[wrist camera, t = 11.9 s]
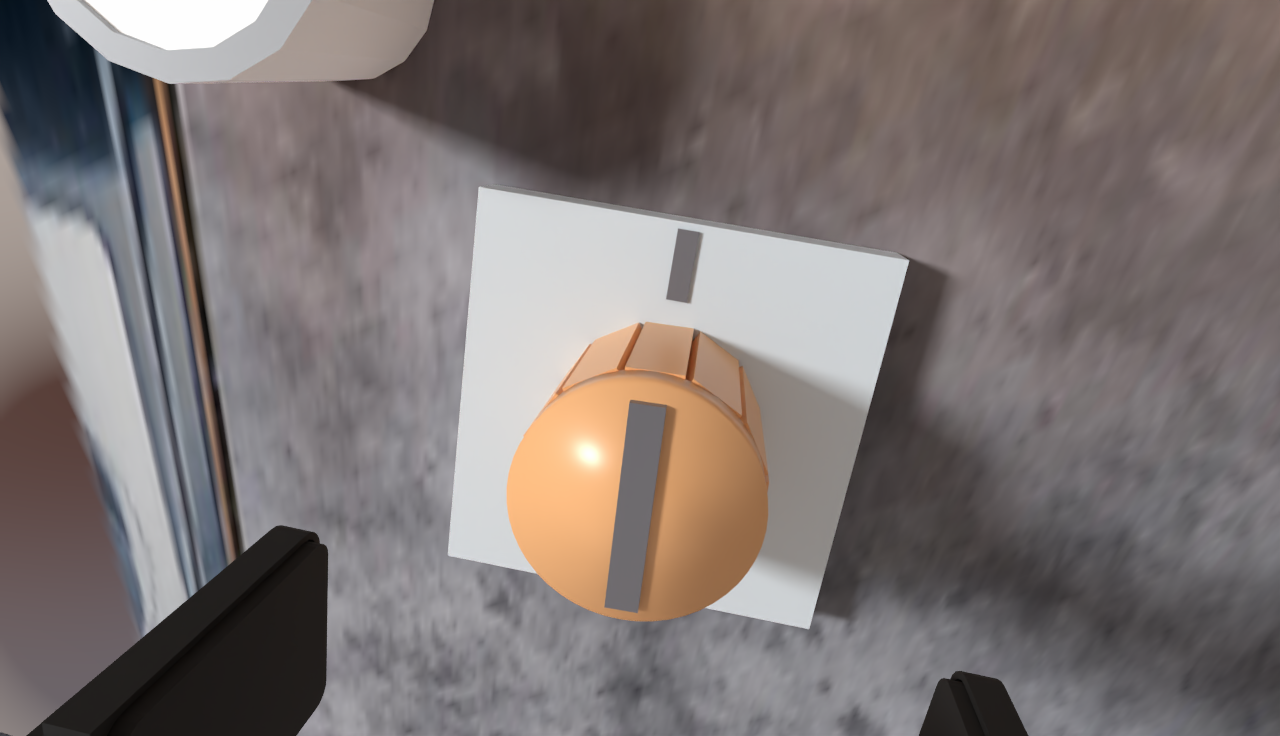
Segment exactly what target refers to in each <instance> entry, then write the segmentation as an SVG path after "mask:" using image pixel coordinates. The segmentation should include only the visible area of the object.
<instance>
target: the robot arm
mask: <svg viewBox="0 0 1280 736" xmlns="http://www.w3.org/2000/svg"><path fill="white" fill-rule="evenodd" d="M327 590H328V549H327V547H326V546H325V545H324V544H320V542H319V537H318V535H317V534H316V533H314V532H310V531H305V530H301V529H296V528H291V527H287V526H282V525H281V526H276V527H274V528H273V529H271V530H270V531H269V532H268V533H267V534H265V535H264V536H263V537H262V538H261V539H259V540H258V541H257V542H256V543H255V544H253V545H252V546H251V547H250V548H249V549H248V550H246V551H245V552H244V553H243V554H242V555H240V556H239V557H238V558H237V559H236V560H234V561H233V562H232V563H231V564H230V565H228V566H227V567H226V568H225V569H224V570H223V571H221V572H220V573H219V574H218V575H217V576H215V577H214V578H213V579H212V580H211V581H209V582H208V583H207V584H206V585H205V586H204V587H202V588H201V589H200V590H199V591H198V592H196V593H195V594H194V595H193V596H192V597H190V598H189V599H188V600H187V601H186V602H185V603H183V604H182V605H181V606H180V607H179V608H177V609H176V610H175V611H174V612H173V613H171V614H170V615H169V616H168V617H167V618H165V619H164V620H163V621H162V622H161V623H160V624H158V625H157V626H156V627H155V628H154V629H152V630H151V631H150V632H149V633H148V634H146V635H145V636H144V637H143V638H142V639H141V640H139V641H138V642H137V643H136V644H135V645H133V646H132V647H131V648H130V649H129V650H128V651H126V652H125V653H124V654H123V655H122V656H120V657H119V658H118V659H117V660H116V661H114V662H113V663H112V664H111V665H110V666H109V667H107V668H106V669H105V670H104V671H103V672H101V673H100V674H99V675H98V676H97V677H95V678H94V679H93V680H92V681H91V682H89V683H88V684H87V685H86V686H85V687H83V688H82V689H81V690H80V691H79V692H78V693H76V694H75V695H74V696H73V697H72V698H70V699H69V700H68V701H67V702H66V703H64V704H63V705H62V706H61V707H60V708H59V709H57V710H56V711H55V712H54V713H53V714H51V715H50V716H49V717H48V718H47V719H46V720H44V721H43V722H42V723H41V724H40V725H39V726H37V727H36V728H35V729H34V730H33V731H31V732H30V733H29V734H28V735H27V736H296V735H297V734H298V733H299V731H300V730H301V728H302V727H303V726H304V724H305V723H306V722H307V720H308V719H309V718H310V716H311V715H312V714H313V712H314V711H315V710H316V708H317V706H318V705H319V703H320V701H321V699H322V696H323V694H324V690H325V686H326V658H327ZM0 736H11V735H8V734H5V733H2V732H0ZM919 736H1028V734H1027V732H1026V730H1025V728H1024V726H1023V724H1022V722H1021V720H1020V718H1019V716H1018V713H1017V711H1016V709H1015V707H1014V705H1013V703H1012V701H1011V699H1010V697H1009V695H1008V693H1007V690H1006V688H1005V687H1004V685H1003V683H1002V682H1001V681H1000V680H998V679H995V678H990V677H986V676H981V675H976V674H972V673H967V672H962V671H956V672H955V673H954V674H953V675H952V677H951V679H945V678H943V679H941V680H940V681H939V682H938V684H937V687H936V689H935V692H934V695H933V698H932V700H931V703H930V706H929V709H928V712H927V714H926V717H925V720H924V723H923V726H922V728H921V731H920V734H919Z"/></svg>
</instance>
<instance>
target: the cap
mask: <svg viewBox="0 0 1280 736" xmlns="http://www.w3.org/2000/svg"><path fill="white" fill-rule="evenodd" d="M693 331H694V328H687V327H680V326H673V325H666V324H659V323H652V322H645V324H644V326H643V329H642V328H641V326H640V324H639V322H638V323H636V324H633V325H631V326H628V327H626V328H623V329H621V330H618V331H616V332H613V333H610V334H608V335H605V336H603V337H600V338H598V339H595V341H594V342H593V343H592V345H591V344H589V345H588V347H587V348H586V349H585V351H584V352H583V353H582V355H581V356H580V357H579V359H578V360H577V361H576V362H575V364H574V365H573V366H572V368H571V369H570V370H569V372H568V373H567V374H566V376H565V377H564V378H563V380H562V381H561V382H560V384H559V385H558V387H557V388H556V390H555V391H554V392H553V394H552V395H551V397H550V398H549V400H548V401H547V402H546V404H545V405H544V407H543V408H542V410H541V411H540V412H539V414H538V415H537V417H536V418H535V420H534V421H533V422H532V424H531V425H530V427H529V428H528V430H527V431H526V432H525V434H524V435H523V436H524V438H523V439H522V441H521V442H520V444H519V446H518V448H517V450H516V452H515V455H514V457H513V460H512V463H511V466H510V470H509V474H508V481H507V509H508V516H509V521H510V524H511V528H512V531H513V534H514V536H515V539H516V541H517V543H518V546H519V548H520V549H521V551H522V553H523V554H524V556H525V558H526V559H527V561H528V562H529V564H530V565H531V566H532V567H533V569H534V570H535V571H536V573H537V574H538V575H539V576H540V577H541V578H542V579H543V580H544V581H545V582H546V583H547V584H548V585H549V586H551V587H552V588H553V589H554V590H556V591H557V592H558V593H559V594H561V595H562V596H564V597H565V598H567V599H569V600H570V601H572V602H573V603H575V604H577V605H579V606H581V607H584V608H586V609H588V610H590V611H593V612H596V613H599V614H601V615H604V616H609V617H613V618H617V619H623V620H631V621H659V620H668V619H673V618H677V617H682V616H685V615H688V614H691V613H694V612H697V611H699V610H701V609H703V608H705V607H707V606H709V605H711V604H713V603H715V602H716V601H718V600H719V599H721V598H722V597H723V596H725V595H726V594H727V593H729V592H730V591H731V590H732V589H733V588H734V587H735V586H736V585H737V584H738V583H739V582H740V581H741V580H742V579H743V578H744V576H745V575H746V574H747V573H748V571H749V570H750V568H751V567H752V565H753V563H754V562H755V560H756V558H757V556H758V554H759V552H760V549H761V547H762V545H763V541H764V537H765V534H766V530H767V521H768V495H767V492H768V486H769V476H768V467H767V459H766V452H765V444H764V437H763V429H762V421H761V414H760V408H759V405H758V403H757V400H756V398H755V395H754V393H753V390H752V388H751V385H750V383H749V380H748V378H747V375H746V373H745V370H744V368H743V366H741V367H739V360H737V359H736V358H735V357H733V356H732V355H731V354H729V353H728V352H727V351H726V350H724V349H723V348H722V347H720V346H719V345H718V344H716V343H715V342H714V341H713V340H711V339H710V338H709V337H707V336H706V335H705V334H703V333H702V332H701V331H700V332H699V333H698V335H697V336H696V337H695V338H694V340H693V341H692V338H693Z"/></svg>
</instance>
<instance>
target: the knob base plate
mask: <svg viewBox="0 0 1280 736" xmlns="http://www.w3.org/2000/svg"><path fill="white" fill-rule="evenodd" d="M908 264H909V260H908V259H906V258H905V257H903V256H901V255H900V254H898V253H896V252H890V251H884V250H878V249H872V248H867V247H861V246H855V245H849V244H843V243H837V242H831V241H825V240H820V239H814V238H808V237H802V236H796V235H790V234H784V233H778V232H773V231H767V230H761V229H755V228H749V227H743V226H737V225H732V224H726V223H720V222H714V221H708V220H702V219H696V218H690V217H685V216H679V215H673V214H667V213H661V212H655V211H649V210H644V209H638V208H632V207H626V206H620V205H614V204H608V203H602V202H597V201H591V200H585V199H579V198H573V197H567V196H561V195H556V194H550V193H544V192H538V191H532V190H526V189H520V188H514V187H509V186H503V185H497V184H493V185H487V186H481V187H479V192H478V204H477V215H476V227H475V239H474V251H473V263H472V275H471V286H470V298H469V310H468V322H467V334H466V346H465V358H464V369H463V381H462V393H461V405H460V417H459V429H458V440H457V452H456V464H455V476H454V488H453V500H452V512H451V523H450V535H449V547H448V556H453V557H458V558H462V559H467V560H472V561H477V562H482V563H487V564H492V565H497V566H502V567H507V568H512V569H517V570H521V571H526V572H531V573H536V571H535V570H534V569H533V567H532V566H531V565H530V564H529V562H528V561H527V559H526V558H525V556H524V554H523V553H522V551H521V549H520V548H519V546H518V543H517V541H516V539H515V536H514V534H513V531H512V528H511V524H510V521H509V516H508V509H507V481H508V474H509V470H510V466H511V463H512V460H513V457H514V455H515V452H516V450H517V448H518V446H519V444H520V442H521V441H522V439H523V438H524V436H523V435H524V434H525V432H526V431H527V430H528V428H529V427H530V425H531V424H532V422H533V421H534V420H535V418H536V417H537V415H538V414H539V412H540V411H541V410H542V408H543V407H544V405H545V404H546V402H547V401H548V400H549V398H550V397H551V395H552V394H553V392H554V391H555V390H556V388H557V387H558V385H559V384H560V382H561V381H562V380H563V378H564V377H565V376H566V374H567V373H568V372H569V370H570V369H571V368H572V366H573V365H574V364H575V362H576V361H577V360H578V359H579V357H580V356H581V355H582V353H583V352H584V351H585V349H586V348H587V347H588V345H589V344H591V345H592V343H593V342H594V341H595V339H598V338H600V337H603V336H605V335H608V334H610V333H613V332H616V331H618V330H621V329H623V328H626V327H628V326H631V325H633V324H636V323H638V322H639V324H640V326H641V328H642V329H643V326H644V324H645V322H652V323H659V324H666V325H673V326H680V327H687V328H694V331H693V338H692V341H693V340H694V338H695V337H696V336H697V335H698V333H699V332H700V331H701V332H702V333H703V334H705V335H706V336H707V337H709V338H710V339H711V340H713V341H714V342H715V343H716V344H718V345H719V346H720V347H722V348H723V349H724V350H726V351H727V352H728V353H729V354H731V355H732V356H733V357H735V358H736V359H737V360H739V367H741V366H743V368H744V370H745V373H746V375H747V378H748V380H749V383H750V385H751V388H752V390H753V393H754V395H755V398H756V400H757V403H758V405H759V408H760V414H761V421H762V429H763V437H764V444H765V452H766V459H767V467H768V476H769V486H768V492H767V495H768V521H767V530H766V534H765V537H764V541H763V545H762V547H761V549H760V552H759V554H758V556H757V558H756V560H755V562H754V563H753V565H752V567H751V568H750V570H749V571H748V573H747V574H746V575H745V576H744V578H743V579H742V580H741V581H740V582H739V583H738V584H737V585H736V586H735V587H734V588H733V589H732V590H731V591H730V592H729V593H727V594H726V595H725V596H723V597H722V598H721V599H719V600H718V601H716V602H715V603H713V604H711V605H709V606H707V607H705V608H708V609H713V610H718V611H723V612H728V613H733V614H738V615H742V616H747V617H752V618H757V619H762V620H767V621H772V622H777V623H782V624H787V625H792V626H797V627H801V628H806V629H809V627H810V624H811V620H812V616H813V613H814V609H815V605H816V602H817V598H818V594H819V591H820V587H821V583H822V580H823V576H824V572H825V569H826V565H827V561H828V558H829V554H830V550H831V547H832V543H833V539H834V536H835V532H836V528H837V525H838V521H839V517H840V514H841V510H842V506H843V503H844V499H845V495H846V492H847V488H848V484H849V480H850V477H851V473H852V469H853V466H854V462H855V458H856V455H857V451H858V447H859V444H860V440H861V436H862V433H863V429H864V425H865V422H866V418H867V414H868V411H869V407H870V403H871V400H872V396H873V392H874V389H875V385H876V381H877V378H878V374H879V370H880V367H881V363H882V359H883V356H884V352H885V348H886V345H887V341H888V337H889V333H890V330H891V326H892V322H893V319H894V315H895V311H896V308H897V304H898V300H899V297H900V293H901V289H902V286H903V282H904V278H905V275H906V271H907V267H908ZM536 574H537V573H536Z"/></svg>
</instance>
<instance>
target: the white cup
mask: <svg viewBox="0 0 1280 736" xmlns="http://www.w3.org/2000/svg"><path fill="white" fill-rule="evenodd" d="M47 1H48V2H49V4H50V6H51V7H52V9H53V11H54V12H55V14H56V15H57V16H59V17H60V18H61V19H62V20H63V21H64V22H65V23H67V24H68V25H69V26H70V27H71V28H72V29H73V30H75V31H76V32H77V33H78V34H79V35H80V36H81V37H82V38H84V39H85V40H86V41H87V42H88V43H89V44H90V45H92V46H93V47H94V48H95V49H96V50H97V51H98V52H100V53H101V54H102V55H103V56H104V57H105V58H106V59H108V60H109V61H111V62H114V63H116V64H119V65H121V66H124V67H127V68H129V69H132V70H135V71H137V72H140V73H142V74H145V75H148V76H150V77H153V78H155V79H158V80H161V81H163V82H166V83H169V84H184V83H244V82H305V81H346V80H362V79H374V78H376V77H378V76H380V75H381V74H383V73H385V72H387V71H388V70H390V69H392V68H394V67H396V66H397V65H399V64H401V63H403V62H404V61H405V60H406V59H407V58H408V56H409V55H410V53H411V52H412V51H413V49H414V48H415V46H416V45H417V44H418V42H419V41H420V39H421V38H422V37H423V35H424V34H425V32H426V31H427V28H428V24H429V20H430V16H431V12H432V7H433V3H434V0H47Z"/></svg>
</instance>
